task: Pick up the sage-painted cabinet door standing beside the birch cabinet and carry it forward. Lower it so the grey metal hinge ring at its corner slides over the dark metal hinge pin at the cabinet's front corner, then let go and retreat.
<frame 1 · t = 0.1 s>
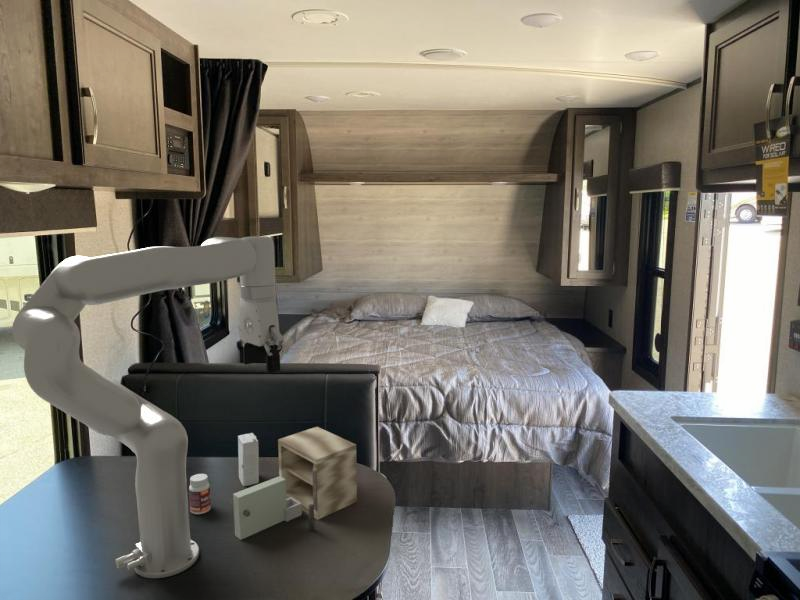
hand: (261, 367, 129), 37 cm above the table, tool pointing down, fingers open, 9 cm apart
skincare box: (249, 481, 153), on the table
door: (261, 527, 131), on the table
pill bottle: (200, 510, 138), on the table
cabinet: (318, 498, 144), on the table
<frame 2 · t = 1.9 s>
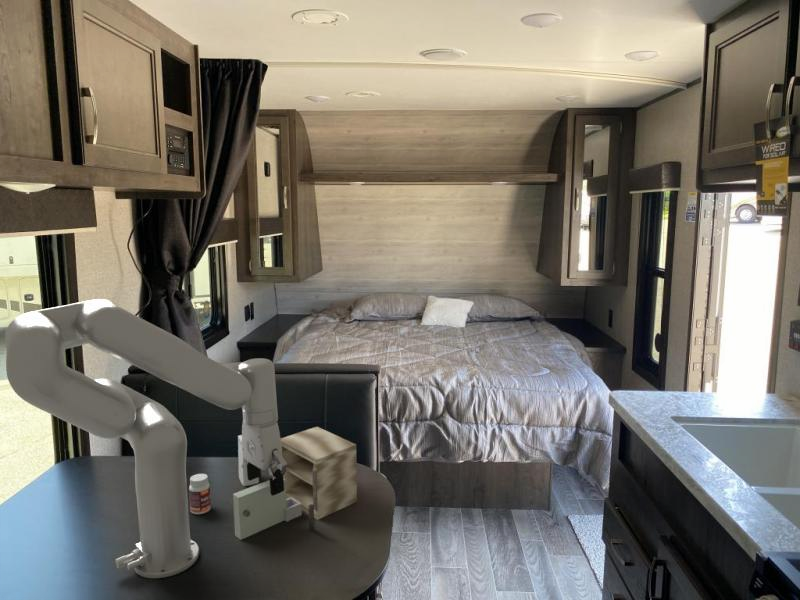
hand: (265, 485, 130), 10 cm above the table, tool pointing down, fingers open, 9 cm apart
nothing on the table moved.
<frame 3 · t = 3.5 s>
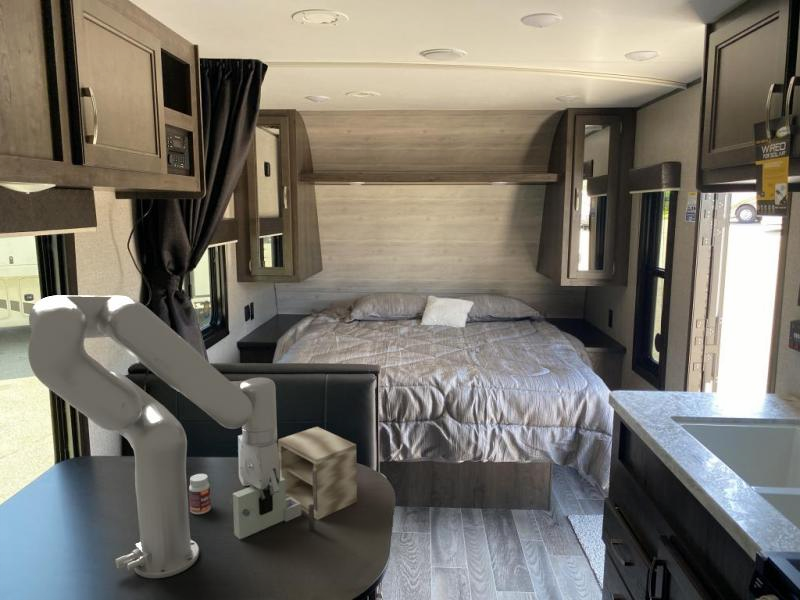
hand: (262, 509, 130), 4 cm above the table, tool pointing down, fingers closed on door, 2 cm apart
door: (261, 526, 131), on the table, touching gripper
everything else where it was.
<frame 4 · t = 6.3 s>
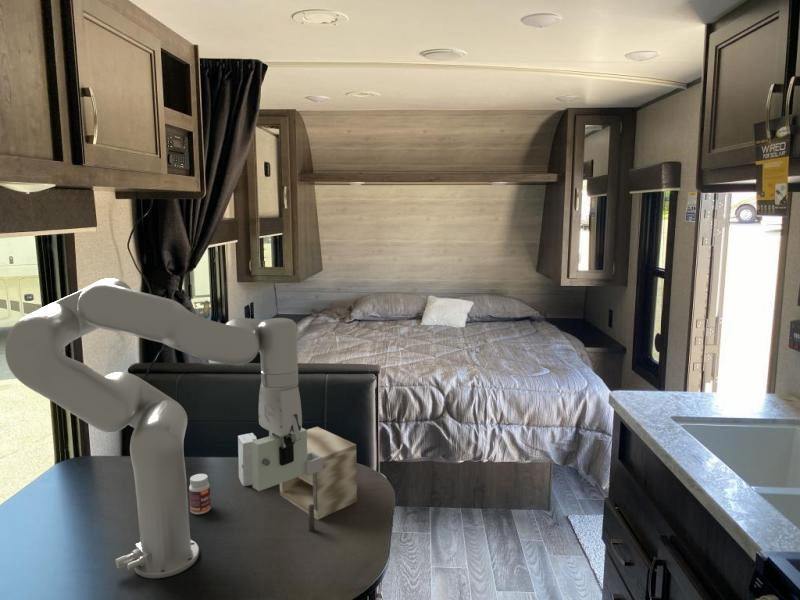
hand: (282, 460, 122), 19 cm above the table, tool pointing down, fingers closed on door
door: (280, 480, 122), point 15 cm above the table, touching gripper
everything else where it was.
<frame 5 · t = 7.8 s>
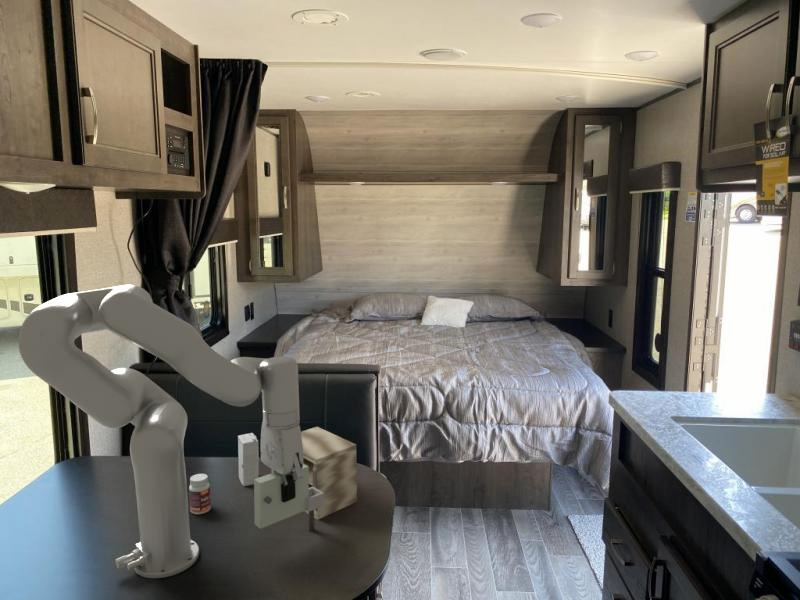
hand: (284, 496, 123), 11 cm above the table, tool pointing down, fingers closed on door
door: (282, 516, 123), point 6 cm above the table, touching gripper
everything else where it was.
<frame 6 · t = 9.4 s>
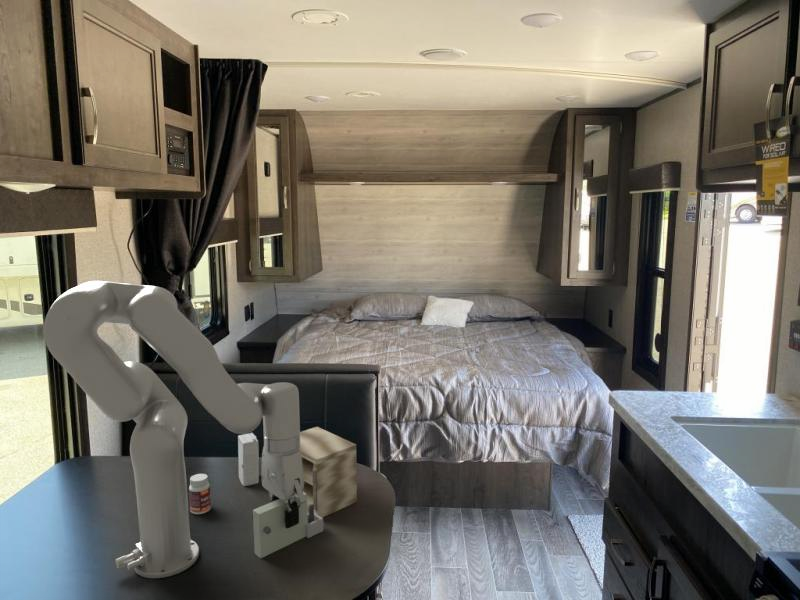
hand: (285, 519, 124), 5 cm above the table, tool pointing down, fingers open, 4 cm apart
door: (282, 544, 124), on the table
everything else where it was.
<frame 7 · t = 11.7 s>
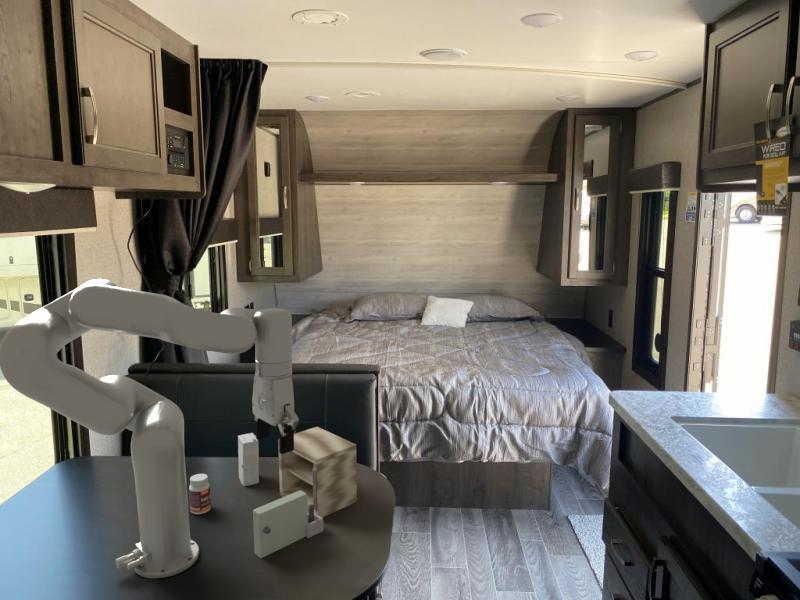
hand: (274, 444, 123), 22 cm above the table, tool pointing down, fingers open, 9 cm apart
nothing on the table moved.
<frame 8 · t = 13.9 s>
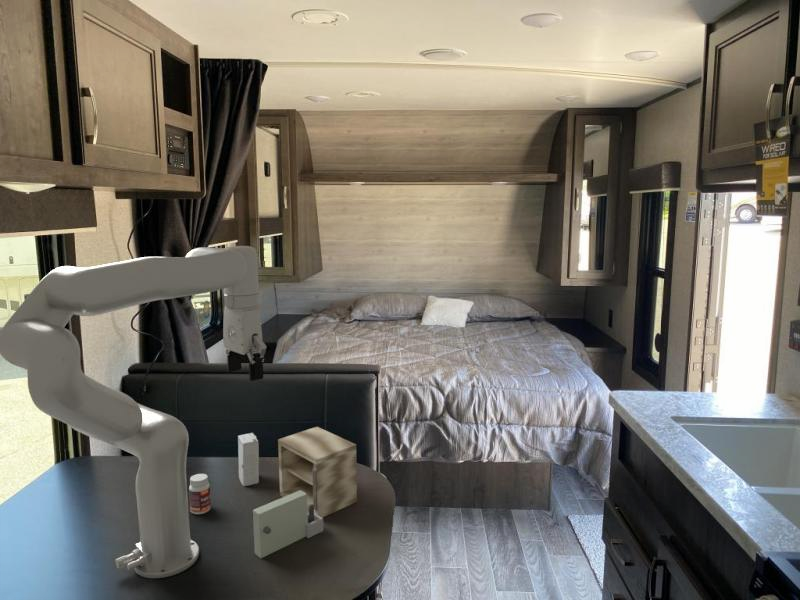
hand: (245, 374, 131), 34 cm above the table, tool pointing down, fingers open, 9 cm apart
nothing on the table moved.
at the end: door 0.6 cm from the target spot, on the table; door tilted 0°; the gripper is holding nothing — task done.
